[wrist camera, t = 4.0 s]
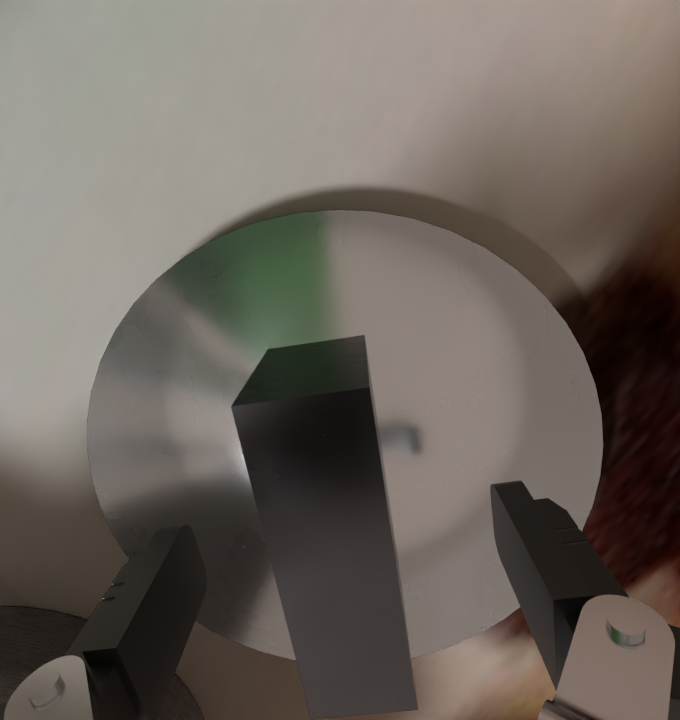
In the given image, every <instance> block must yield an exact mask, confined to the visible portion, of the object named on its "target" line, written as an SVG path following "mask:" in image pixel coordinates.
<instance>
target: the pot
mask: <svg viewBox="0 0 680 720" xmlns="http://www.w3.org/2000/svg"><path fill="white" fill-rule="evenodd" d="M86 622H87V620H84V619H81V618H78V617H75V616H71V615H67V614H63V613H58V612H54V611H50V610H42V609H35V608H27V607H4V606H1V607H0V704H2V703H4V702H7V701H9V699H10V697H11V696H12V694H13V693H14V691H15V690H16V689H17V688H18V686H19V685H20V684H21V683H22V682H23V681H24V680H25V679H26V678H27V677H28V676H29V675H31V674H32V673H33V672H34V671H36V670H37V669H38V668H40V667H41V666H43V665H44V664H46V663H48V662H50V661H52V660H54V659H57V658H60V657H63V656H65V655H66V653H67V652H68V650H69V648H70V647H71V645H72V644H73V642H74V641H75V639H76V638H77V636H78V635H79V633H80V632H81V630H82V629H83V627H84V625H85V624H86ZM157 720H204V718H203V715H202V713H201V711H200V709H199V707H198V705H197V703H196V701H195V699H194V697H193V696H192V695H191V693H190V692H189V690H188V689H187V687H186V686H185V685H184V683H183V682H182V681H181V680H180V679H179V678H178V677H177V676H176V675H175V674H174V676H173V679H172V681H171V684H170V687H169V689H168V692H167V694H166V697H165V699H164V702H163V705H162V707H161V710H160V712H159V715H158V717H157Z"/></svg>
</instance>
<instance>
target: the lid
mask: <svg viewBox="0 0 680 720" xmlns="http://www.w3.org/2000/svg"><path fill="white" fill-rule="evenodd" d="M87 451H88V458H89V464H90V470H91V476H92V481H93V485H94V488H95V491H96V494H97V498H98V501H99V504H100V507H101V510H102V512H103V514H104V516H105V518H106V520H107V523H108V525H109V527H110V529H111V531H112V533H113V535H114V537H115V538H116V540H117V541H118V543H119V545H120V546H121V548H122V549H123V551H124V552H125V554H126V556H127V557H128V558H129V560H130V559H132V558H133V557H134V556H135V555H136V554H137V553H138V552H139V551H143V550H145V549H146V547H147V545H148V544H149V542H150V541H151V539H152V537H153V536H154V534H155V533H156V531H157V530H158V529H160V528H166V527H174V526H181V525H189V526H190V527H191V529H192V531H193V533H194V536H195V539H196V542H197V545H198V548H199V551H200V554H201V557H202V560H203V562H204V565H205V568H206V573H207V588H206V593H205V596H204V599H203V601H202V604H201V606H200V609H199V612H198V614H197V617H196V619H195V621H197V622H198V623H200V624H202V625H203V626H205V627H207V628H208V629H210V630H212V631H214V632H216V633H218V634H220V635H222V636H224V637H226V638H228V639H230V640H232V641H234V642H236V643H239V644H242V645H245V646H247V647H250V648H253V649H256V650H258V651H261V652H264V653H268V654H272V655H276V656H280V657H284V658H288V659H292V660H296V662H297V666H298V670H299V674H300V678H301V682H302V686H303V689H304V693H305V697H306V701H307V705H308V709H309V713H310V717H311V719H312V718H324V717H337V716H349V715H361V714H374V713H386V712H398V711H411V710H418V706H417V699H416V691H415V683H414V676H413V668H412V660H411V658H414V657H418V656H422V655H426V654H430V653H433V652H436V651H439V650H442V649H444V648H447V647H450V646H453V645H456V644H458V643H460V642H462V641H465V640H467V639H469V638H471V637H473V636H475V635H477V634H479V633H481V632H483V631H485V630H487V629H488V628H490V627H491V626H493V625H495V624H496V623H498V622H500V621H501V620H503V619H504V618H506V617H507V616H509V615H510V614H511V613H513V612H514V611H515V610H516V609H518V608H519V607H520V605H519V602H518V600H517V598H516V595H515V593H514V591H513V588H512V586H511V583H510V581H509V579H508V576H507V574H506V572H505V569H504V567H503V565H502V562H501V560H500V557H499V554H498V551H497V547H496V543H495V538H494V529H493V518H492V506H491V495H490V486H491V484H497V483H504V482H511V481H519V480H521V481H522V482H523V483H524V485H525V486H526V488H527V489H528V491H529V492H530V494H531V496H532V497H533V499H534V500H536V499H544V498H549V499H550V500H552V501H553V502H555V503H556V504H558V505H559V506H561V507H562V508H564V509H565V510H567V512H568V513H569V515H570V516H571V517H572V519H573V520H574V521H575V523H576V524H577V526H578V529H579V530H581V531H582V530H583V527H584V525H585V522H586V520H587V518H588V515H589V513H590V510H591V508H592V506H593V502H594V498H595V494H596V490H597V487H598V483H599V479H600V473H601V463H602V453H603V432H602V414H601V410H600V405H599V400H598V395H597V391H596V386H595V382H594V380H593V377H592V374H591V372H590V369H589V366H588V364H587V361H586V359H585V356H584V353H583V351H582V350H581V348H580V346H579V344H578V343H577V341H576V339H575V337H574V336H573V334H572V332H571V330H570V329H569V327H568V325H567V323H566V322H565V321H564V319H563V318H562V317H561V316H560V314H559V313H558V312H557V311H556V309H555V308H554V307H553V306H552V304H551V303H550V302H549V301H548V299H547V298H546V297H545V295H544V294H543V293H541V292H540V291H539V290H538V289H537V288H536V287H535V286H534V285H533V284H532V283H531V282H530V281H529V280H527V279H526V278H525V277H524V276H523V275H522V274H521V273H520V272H519V271H518V270H517V269H515V268H514V267H512V266H511V265H509V264H508V263H506V262H505V261H503V260H502V259H501V258H499V257H498V256H496V255H495V254H493V253H492V252H490V251H489V250H487V249H486V248H484V247H482V246H480V245H478V244H476V243H474V242H472V241H470V240H468V239H466V238H464V237H462V236H460V235H458V234H456V233H454V232H452V231H449V230H446V229H443V228H440V227H437V226H434V225H431V224H428V223H425V222H422V221H419V220H416V219H413V218H407V217H401V216H396V215H390V214H385V213H379V212H374V211H351V210H325V211H315V212H305V213H295V214H289V215H285V216H281V217H277V218H273V219H269V220H265V221H260V222H256V223H253V224H250V225H248V226H245V227H243V228H240V229H238V230H235V231H233V232H230V233H228V234H225V235H223V236H220V237H218V238H216V239H214V240H213V241H211V242H209V243H207V244H206V245H204V246H202V247H201V248H199V249H197V250H195V251H194V252H192V253H190V254H188V255H187V256H185V257H184V258H183V259H181V260H180V261H179V262H177V263H176V264H175V265H174V266H172V267H171V268H170V269H169V270H167V271H166V272H165V273H164V274H162V275H161V276H160V277H159V278H157V279H156V280H155V281H154V283H153V284H152V285H151V286H150V287H149V288H148V289H147V290H146V291H145V292H144V293H143V294H142V295H141V296H140V298H139V299H138V300H137V301H136V302H135V303H134V304H133V305H132V307H131V308H130V310H129V311H128V313H127V314H126V316H125V317H124V318H123V320H122V321H121V323H120V324H119V326H118V327H117V329H116V330H115V332H114V334H113V336H112V338H111V340H110V342H109V344H108V346H107V348H106V350H105V353H104V355H103V357H102V359H101V361H100V364H99V367H98V371H97V374H96V377H95V381H94V384H93V387H92V391H91V397H90V404H89V412H88V419H87Z"/></svg>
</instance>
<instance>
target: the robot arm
mask: <svg viewBox="0 0 680 720" xmlns="http://www.w3.org/2000/svg"><path fill="white" fill-rule="evenodd" d="M490 495H491V506H492V518H493V529H494V538H495V543H496V547H497V551H498V554H499V557H500V560H501V562H502V565H503V567H504V569H505V572H506V574H507V576H508V579H509V581H510V583H511V586H512V588H513V591H514V593H515V595H516V598H517V600H518V602H519V605H520V607H521V609H522V612H523V614H524V616H525V619H526V621H527V623H528V626H529V628H530V630H531V633H532V635H533V637H534V640H535V642H536V644H537V647H538V649H539V652H540V654H541V656H542V659H543V661H544V663H545V666H546V668H547V670H548V673H549V675H550V677H551V680H552V682H553V684H554V687H555V689H556V694H555V697H554V699H553V701H550V700H546V701H545V703H544V705H543V707H542V709H541V711H540V714H539V717H538V720H680V628H678V627H675V626H672V625H669V624H667V623H666V621H665V620H664V619H663V618H662V617H661V616H660V615H659V614H657V613H656V612H655V611H654V610H652V609H651V608H649V607H648V606H646V605H645V604H643V603H641V602H639V601H636V600H634V599H631V598H629V596H628V595H627V594H626V592H625V591H624V590H623V588H622V587H621V585H620V584H619V583H618V581H617V580H616V578H615V577H614V576H613V574H612V573H611V571H610V570H609V569H608V567H607V566H606V565H605V563H604V562H603V560H602V559H601V558H600V556H599V555H598V553H597V552H596V551H595V549H594V548H593V546H592V545H591V544H590V543H588V540H587V538H586V537H585V535H584V534H583V533H582V531H581V530H579V529H578V526H577V524H576V523H575V521H574V520H573V519H572V517H571V516H570V515H569V513H568V512H567V510H565V509H564V508H562V507H561V506H559V505H558V504H556V503H555V502H553V501H552V500H550V499H549V498H544V499H536V500H534V499H533V497H532V496H531V494H530V492H529V491H528V489H527V488H526V486H525V485H524V483H523V482H522V481H521V480H519V481H511V482H504V483H497V484H491V486H490ZM206 588H207V573H206V568H205V565H204V562H203V560H202V557H201V554H200V551H199V548H198V545H197V542H196V539H195V536H194V533H193V531H192V529H191V527H190V526H189V525H181V526H174V527H166V528H160V529H158V530H157V531H156V533H155V534H154V536H153V537H152V539H151V541H150V542H149V544H148V545H147V547H146V549H145V550H143V551H139V552H138V553H137V554H136V555H135V556H134V557H133V558H132V559H130V560H129V561H128V562H127V563H126V564H125V565H124V566H123V567H122V569H121V570H120V572H119V573H118V575H117V576H116V578H115V579H114V581H113V582H112V586H111V587H109V589H108V590H107V592H106V593H105V595H104V596H103V598H102V602H99V604H98V605H97V607H96V609H95V610H94V612H93V613H92V615H91V616H90V618H89V619H88V621H87V622H86V624H85V625H84V627H83V629H82V630H81V632H80V633H79V635H78V636H77V638H76V639H75V641H74V642H73V644H72V645H71V647H70V648H69V650H68V652H67V653H66V655H65V656H63V657H60V658H57V659H54V660H52V661H50V662H48V663H46V664H44V665H43V666H41V667H40V668H38V669H37V670H36V671H34V672H33V673H32V674H31V675H29V676H28V677H27V678H26V679H25V680H24V681H23V682H22V683H21V684H20V685H19V686H18V688H17V689H16V690H15V691H14V693H13V694H12V696H11V697H10V699H9V701H7V702H4V703H2V704H0V720H157V717H158V715H159V712H160V710H161V707H162V705H163V702H164V699H165V697H166V694H167V692H168V689H169V687H170V684H171V681H172V679H173V676H174V674H175V671H176V668H177V666H178V663H179V661H180V658H181V656H182V653H183V650H184V648H185V645H186V643H187V640H188V637H189V635H190V632H191V630H192V627H193V625H194V622H195V619H196V617H197V614H198V612H199V609H200V606H201V604H202V601H203V599H204V596H205V593H206Z"/></svg>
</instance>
